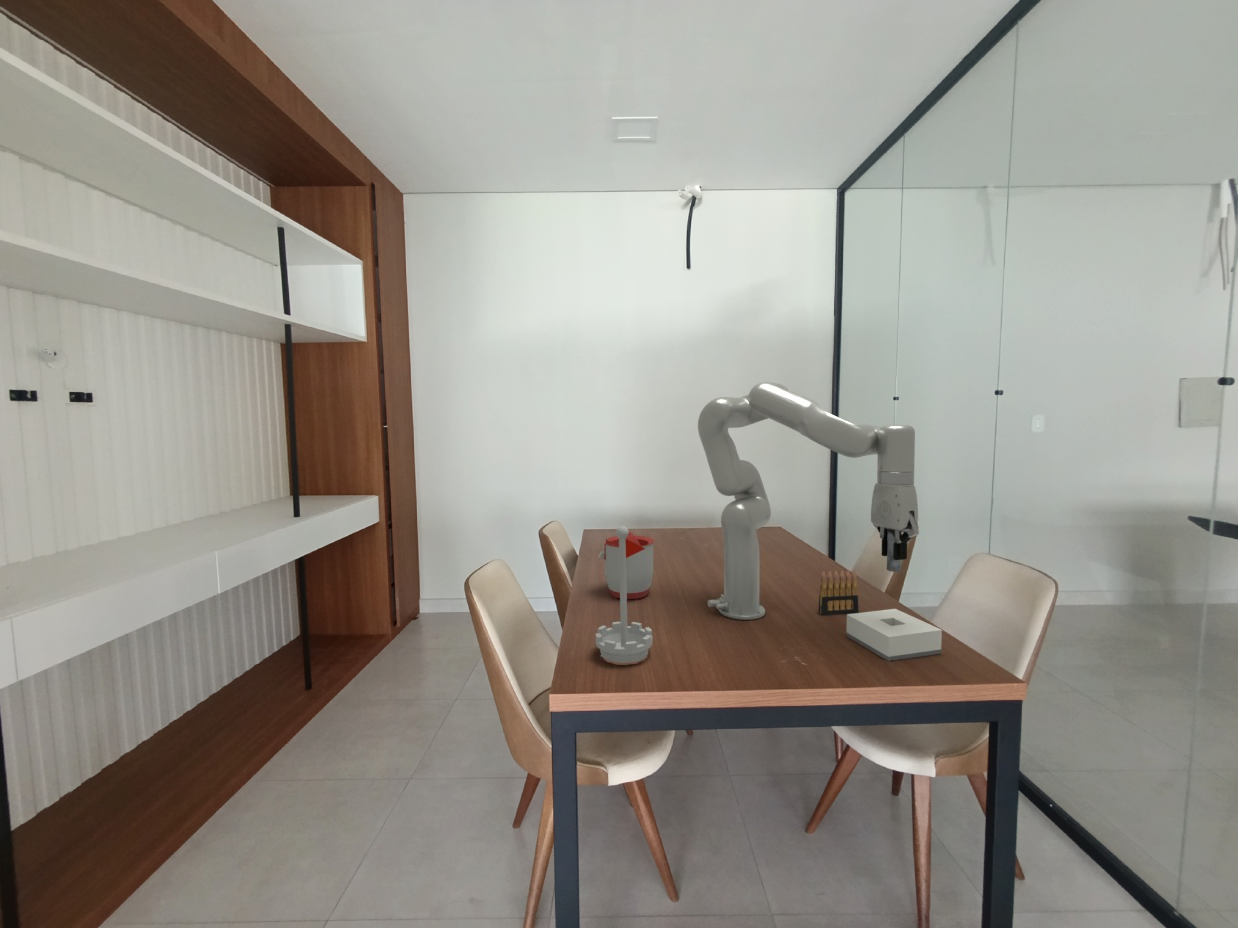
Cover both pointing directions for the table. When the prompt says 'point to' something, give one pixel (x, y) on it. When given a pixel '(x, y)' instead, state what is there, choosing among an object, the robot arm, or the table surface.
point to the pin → (891, 563)
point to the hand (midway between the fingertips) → (894, 556)
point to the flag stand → (624, 618)
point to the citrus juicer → (629, 567)
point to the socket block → (894, 634)
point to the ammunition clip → (838, 594)
